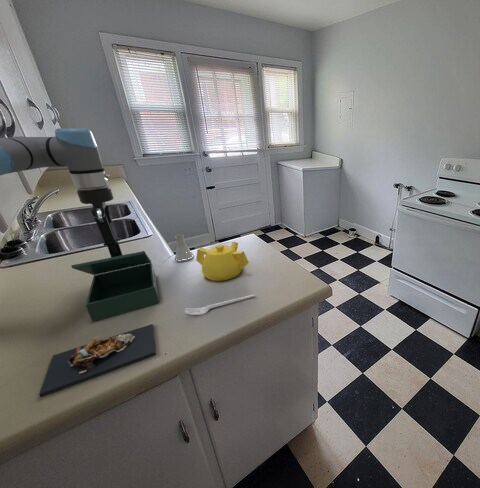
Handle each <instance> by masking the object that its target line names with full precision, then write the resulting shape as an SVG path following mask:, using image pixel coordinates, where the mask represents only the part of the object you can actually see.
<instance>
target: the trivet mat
mask: <svg viewBox="0 0 480 488" xmlns="http://www.w3.org/2000/svg"><path fill="white" fill-rule="evenodd" d="M123 334H132V335H133V336H135V337H134V339H133V340H132V342H131V343H130V344H128V345H127V346H126V347H125V348H124V350H122V351H120V352H116V351H113V352H111V353H109V354H108V355H107V356H105V357H102V358H95V359H94V360H93V362H92V363H93V364H94V365H95V368H94V369H93V370H90V371H87V373H85V374H82V375H80V374H79V372H80V371H82V370H84V369H86V368H87V366H80V365H74V366H70V364H69V363H68V358H69V357H70V356H72V355H74V354H75V349H76V348H79V347H80V348H81V349H83V348H84V347H85V346H87V345H88V343H87V344H84V345H81V346H77V347H74V348H72V349H69V350H66V351H65V350H64V351H62V352H60V353H57V354H53V355H52V358H51V360H50V363H49V365H48V369H47V371H46V374H45V377H44V378H43V379H44V380H43V382H42V385H41V386H40V387H41V388H40V390H39V393H38V395H39V396H40V397H44V396H47V395H50V394H52V393H55V392H57V391H60V390H63V389H65V388H68V387H71V386H75V385H77V384H79V383H82V382H84V381H88V380H90V379H93V378H96V377H98V376H101V375H104V374H107V373H109V372H112V371H116V370H117V369H121V368H123V367H126V366H128V365H131V364H134V363H136V362H140V361H142V360H144V359H147V358H150V357H154V356H156V355H157V353H156V343H155V331H154V324H153V323H151V324H148V325H145V326H142V327H138V328H135V329H132V330H129V331H125V332H123V333H119V334H115V335H113V336H109V337H110V338H112V337H114V336H117V337H118V336H119V335H123Z"/></svg>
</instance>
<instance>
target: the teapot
mask: <svg viewBox="0 0 480 488" xmlns="http://www.w3.org/2000/svg"><path fill="white" fill-rule="evenodd" d="M230 245H231V246H230ZM230 245H224V244H220V243H219V244H217V245H215V246H214V247H212V248H210V249H208V248H204V247H199V248H198V249H196V259H195V261H196V262H197V263H198V264H200V265H201V273H202V275H203V276H204V277H205V278H207V279H209V280H210V281H214V282H223V281H228V280H232V279H234V278H235V277H237V276H239V275H240V274H241V272H242V271H243V270H244V268H245V267H247V265H248V264H249V260H248V258H247V255H246V253H245V251H244V250H240V251H238V246H239V243H238V242H236V241H232V242H231V244H230Z"/></svg>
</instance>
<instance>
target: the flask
mask: <svg viewBox="0 0 480 488" xmlns="http://www.w3.org/2000/svg"><path fill="white" fill-rule="evenodd" d="M184 237H185V235H184V234H177V235H175V236H174V238H175V240H176V250H175V256H174V261H175V262H178V263H183V262H188V261H190V260H193V259H194V257H195V255H194V253H193V252H192V251H191V249H190V247H189V246H188V244H187V243H186V241H185V238H184ZM190 251H191V252H190ZM186 252H187V253H186ZM192 255H193V257H192ZM190 257H192V258H190ZM188 258H190V259H188ZM176 259H177V260H176ZM182 259H187V260H182ZM178 260H181V261H178Z"/></svg>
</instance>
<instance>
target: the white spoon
mask: <svg viewBox="0 0 480 488" xmlns="http://www.w3.org/2000/svg"><path fill="white" fill-rule="evenodd" d="M254 297H256V294H253V293H252V294H249V295H246V296H241V297H236V298H232V299H229V300H228V299H227V300H225V301H221V302H215V303H212V304H207V305H205V306H202V307H196V308H186V307H185V308H183V309H184V313H185V314H187V315H191V316H202V315H205V314H207V313H208V312H209V311H210V309H214V308H217V307H220V306H224V305H225V306H226V305H228V304H232V303H236V302H239V301H244V300H247V299H251V298H254Z"/></svg>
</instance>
